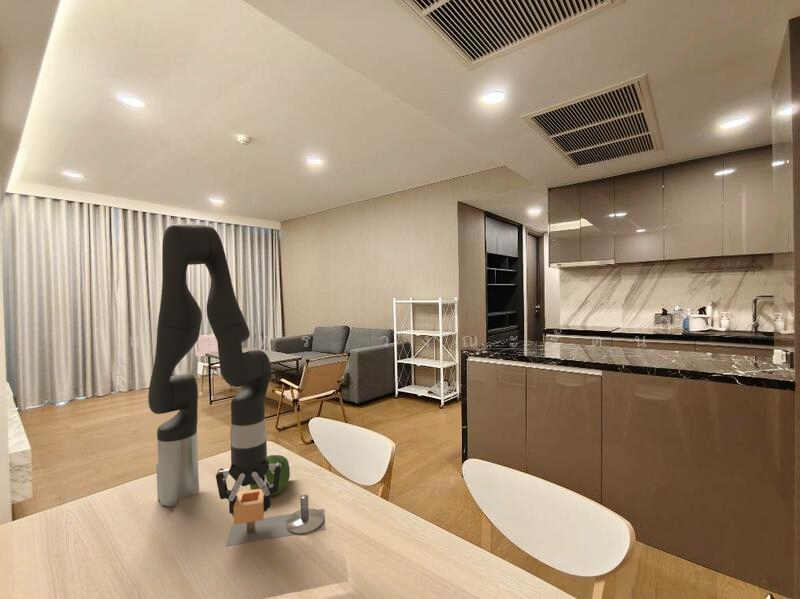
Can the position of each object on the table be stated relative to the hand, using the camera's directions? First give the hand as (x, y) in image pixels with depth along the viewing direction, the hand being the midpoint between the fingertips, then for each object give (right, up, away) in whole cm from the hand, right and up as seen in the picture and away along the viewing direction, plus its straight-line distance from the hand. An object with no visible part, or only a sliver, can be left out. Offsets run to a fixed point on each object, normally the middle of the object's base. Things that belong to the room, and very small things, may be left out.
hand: (250, 511), depth 84 cm
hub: (+12, -4, +3) cm, 13 cm away
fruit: (-1, -5, +19) cm, 19 cm away
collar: (0, -1, 0) cm, 1 cm away
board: (+6, -6, +1) cm, 8 cm away
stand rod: (0, -4, 0) cm, 4 cm away
